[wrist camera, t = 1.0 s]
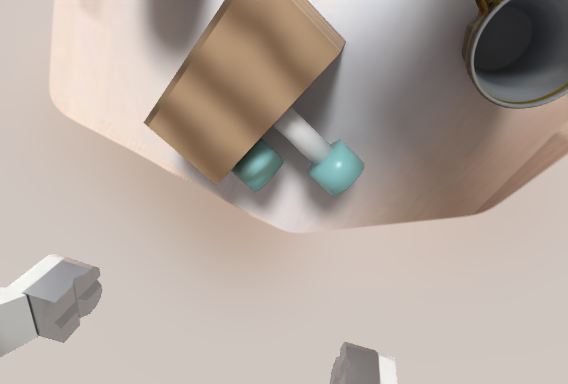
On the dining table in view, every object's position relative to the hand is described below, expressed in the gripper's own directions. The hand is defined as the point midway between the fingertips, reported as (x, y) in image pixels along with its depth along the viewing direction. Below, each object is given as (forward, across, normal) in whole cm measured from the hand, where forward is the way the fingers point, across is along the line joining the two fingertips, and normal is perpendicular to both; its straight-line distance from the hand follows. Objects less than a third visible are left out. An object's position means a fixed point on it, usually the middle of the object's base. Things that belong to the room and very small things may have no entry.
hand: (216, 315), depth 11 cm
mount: (+37, +6, +1) cm, 37 cm away
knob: (+34, 0, +5) cm, 34 cm away
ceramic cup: (+37, -16, -10) cm, 41 cm away
